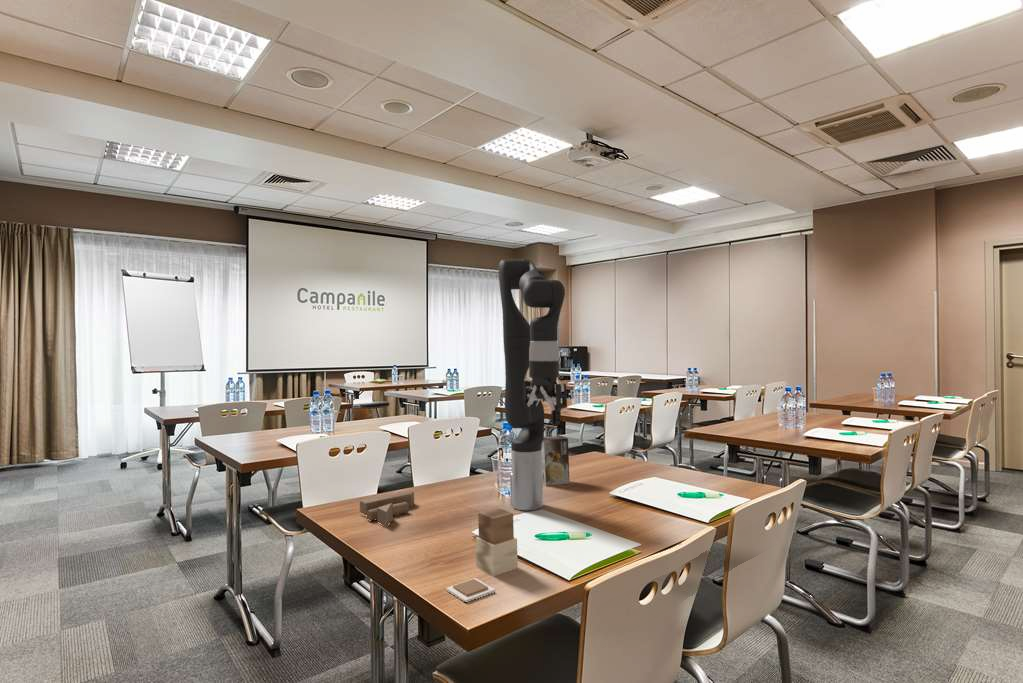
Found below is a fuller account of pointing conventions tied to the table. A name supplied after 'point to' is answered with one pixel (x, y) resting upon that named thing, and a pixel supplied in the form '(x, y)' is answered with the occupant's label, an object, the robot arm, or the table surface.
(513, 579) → the table surface
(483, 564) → the beech cube
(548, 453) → the coffee box
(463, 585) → the walnut tile
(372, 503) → the wooden block set
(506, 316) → the robot arm
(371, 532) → the table surface
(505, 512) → the walnut cube
